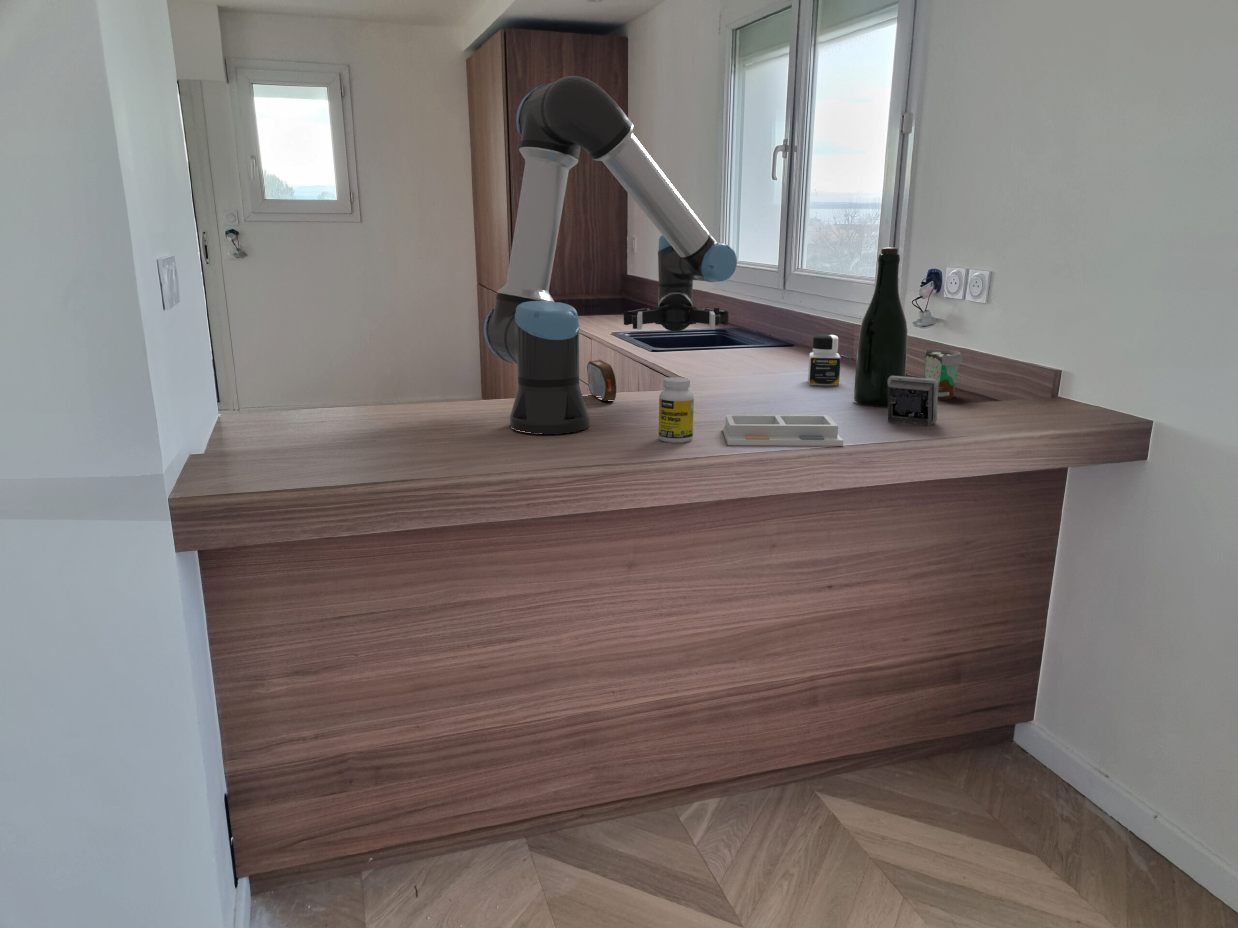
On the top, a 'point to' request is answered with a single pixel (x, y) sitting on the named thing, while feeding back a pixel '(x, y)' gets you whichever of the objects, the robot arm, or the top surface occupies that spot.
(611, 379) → the tin
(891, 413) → the electrical switch
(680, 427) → the pill bottle
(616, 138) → the robot arm
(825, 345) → the medicine bottle
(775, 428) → the socket board
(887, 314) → the dark green wine bottle
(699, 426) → the top surface
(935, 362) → the food container
